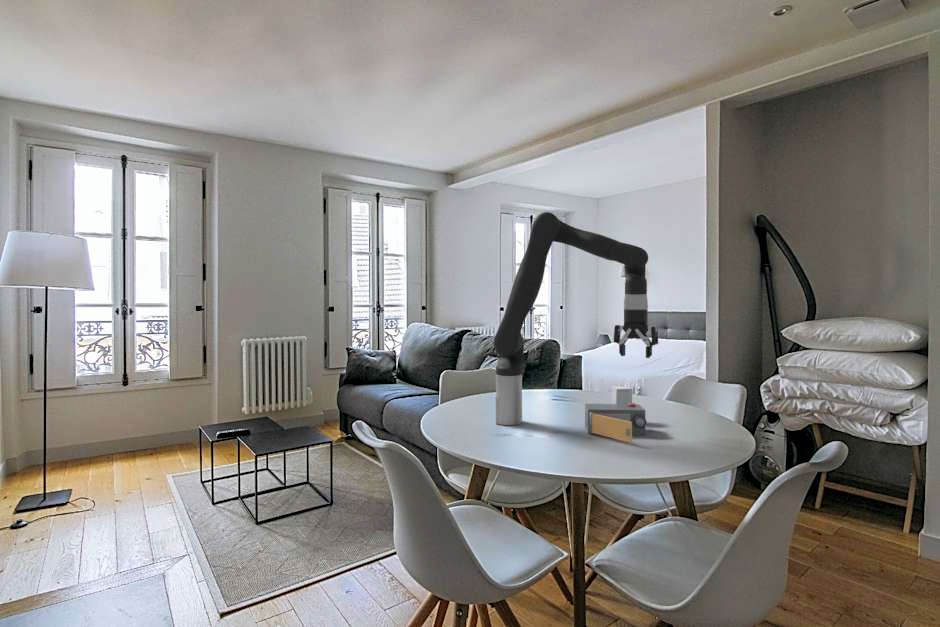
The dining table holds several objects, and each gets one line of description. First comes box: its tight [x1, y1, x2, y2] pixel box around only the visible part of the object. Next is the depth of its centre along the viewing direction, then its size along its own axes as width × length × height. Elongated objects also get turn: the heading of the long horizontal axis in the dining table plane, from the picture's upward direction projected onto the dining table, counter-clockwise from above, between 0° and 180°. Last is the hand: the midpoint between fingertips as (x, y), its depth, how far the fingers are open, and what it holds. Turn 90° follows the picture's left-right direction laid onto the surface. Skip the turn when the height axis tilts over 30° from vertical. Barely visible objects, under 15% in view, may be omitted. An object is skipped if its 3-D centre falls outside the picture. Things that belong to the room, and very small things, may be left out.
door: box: [589, 412, 633, 443], centre depth 159 cm, size 15×2×7 cm, turn 39°
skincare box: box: [611, 386, 633, 404], centre depth 182 cm, size 6×4×12 cm
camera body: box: [584, 402, 647, 436], centre depth 168 cm, size 18×11×9 cm, turn 84°
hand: (635, 356), depth 170 cm, fingers open, 8 cm apart
